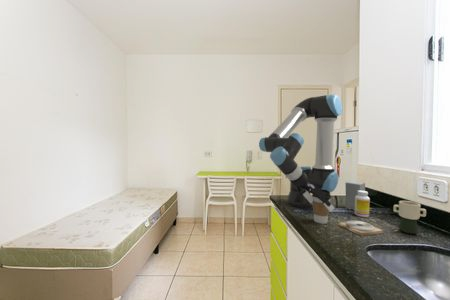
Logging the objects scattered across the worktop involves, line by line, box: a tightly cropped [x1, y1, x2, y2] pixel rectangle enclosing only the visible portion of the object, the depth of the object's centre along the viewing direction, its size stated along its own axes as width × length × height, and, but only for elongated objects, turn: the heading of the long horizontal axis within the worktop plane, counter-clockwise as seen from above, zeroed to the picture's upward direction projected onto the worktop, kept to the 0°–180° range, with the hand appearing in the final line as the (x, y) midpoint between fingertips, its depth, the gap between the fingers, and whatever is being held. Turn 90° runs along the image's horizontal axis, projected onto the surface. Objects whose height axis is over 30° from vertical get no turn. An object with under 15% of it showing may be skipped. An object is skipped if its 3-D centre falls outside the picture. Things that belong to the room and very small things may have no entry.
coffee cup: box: [311, 189, 332, 225], centre depth 106 cm, size 8×8×15 cm
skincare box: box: [345, 180, 366, 211], centre depth 126 cm, size 8×7×16 cm
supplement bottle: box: [354, 190, 371, 218], centre depth 116 cm, size 7×7×13 cm
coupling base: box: [338, 220, 384, 237], centre depth 98 cm, size 12×12×2 cm
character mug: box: [393, 200, 427, 235], centre depth 95 cm, size 11×7×13 cm, turn 55°
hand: (321, 205), depth 105 cm, fingers open, 13 cm apart
